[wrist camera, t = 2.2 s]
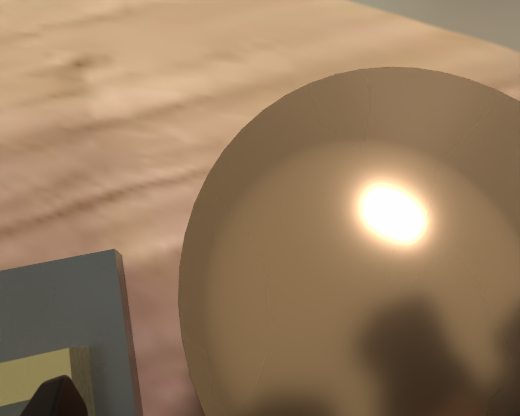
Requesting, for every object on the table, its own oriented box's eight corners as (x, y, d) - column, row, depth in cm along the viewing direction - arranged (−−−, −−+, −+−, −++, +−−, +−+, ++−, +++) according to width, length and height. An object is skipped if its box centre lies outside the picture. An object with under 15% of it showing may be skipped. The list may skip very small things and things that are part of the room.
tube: (326, 369, 16) (779, 499, 3) (222, 395, 16) (231, 694, 2) (300, 266, 18) (551, 37, 4) (203, 287, 17) (135, 96, 4)
